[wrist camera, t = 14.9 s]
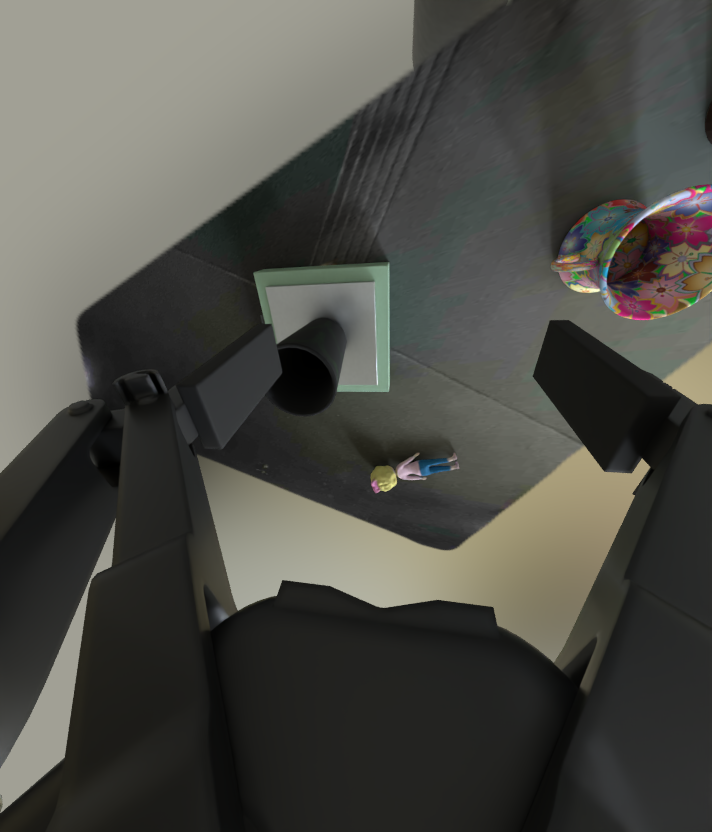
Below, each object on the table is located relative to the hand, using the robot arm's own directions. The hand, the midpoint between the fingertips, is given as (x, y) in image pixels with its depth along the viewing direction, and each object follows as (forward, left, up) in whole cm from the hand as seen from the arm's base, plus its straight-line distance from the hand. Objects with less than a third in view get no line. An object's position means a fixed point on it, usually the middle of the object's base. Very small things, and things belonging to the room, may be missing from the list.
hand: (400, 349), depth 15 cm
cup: (+7, -10, -22) cm, 25 cm away
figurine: (+31, +2, -26) cm, 40 cm away
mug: (-1, +19, -26) cm, 32 cm away
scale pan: (+7, -10, -22) cm, 25 cm away
